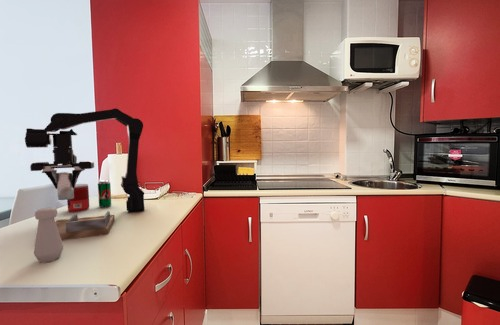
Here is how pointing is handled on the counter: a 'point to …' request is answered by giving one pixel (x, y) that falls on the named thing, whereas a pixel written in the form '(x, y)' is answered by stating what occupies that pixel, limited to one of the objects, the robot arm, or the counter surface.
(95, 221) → the dock
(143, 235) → the counter surface
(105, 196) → the soda can
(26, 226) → the counter surface
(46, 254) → the salt shaker
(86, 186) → the canned food
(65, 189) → the canister
